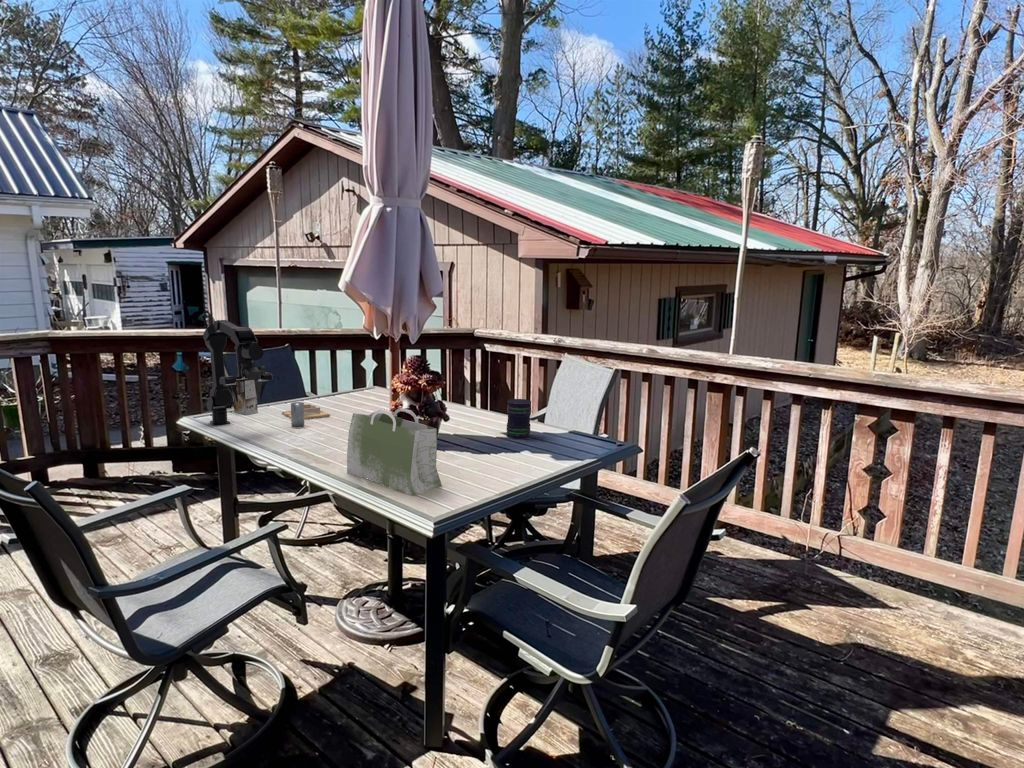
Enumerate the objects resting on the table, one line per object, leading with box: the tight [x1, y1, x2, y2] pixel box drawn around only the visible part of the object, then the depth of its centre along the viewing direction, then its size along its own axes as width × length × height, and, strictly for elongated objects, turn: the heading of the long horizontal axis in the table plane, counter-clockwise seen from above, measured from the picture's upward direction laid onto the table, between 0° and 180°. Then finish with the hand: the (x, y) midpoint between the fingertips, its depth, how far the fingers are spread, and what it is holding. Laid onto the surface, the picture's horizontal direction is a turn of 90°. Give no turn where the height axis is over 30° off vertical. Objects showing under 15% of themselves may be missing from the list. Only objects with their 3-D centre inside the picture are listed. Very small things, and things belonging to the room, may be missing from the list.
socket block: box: [281, 403, 331, 420], centre depth 284 cm, size 16×16×4 cm
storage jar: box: [506, 398, 532, 440], centre depth 259 cm, size 10×10×15 cm
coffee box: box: [233, 377, 259, 416], centre depth 285 cm, size 9×6×16 cm
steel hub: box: [290, 401, 305, 428], centre depth 263 cm, size 5×5×10 cm
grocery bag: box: [346, 407, 443, 497], centre depth 200 cm, size 32×14×23 cm, turn 53°
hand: (248, 400), depth 245 cm, fingers open, 9 cm apart
